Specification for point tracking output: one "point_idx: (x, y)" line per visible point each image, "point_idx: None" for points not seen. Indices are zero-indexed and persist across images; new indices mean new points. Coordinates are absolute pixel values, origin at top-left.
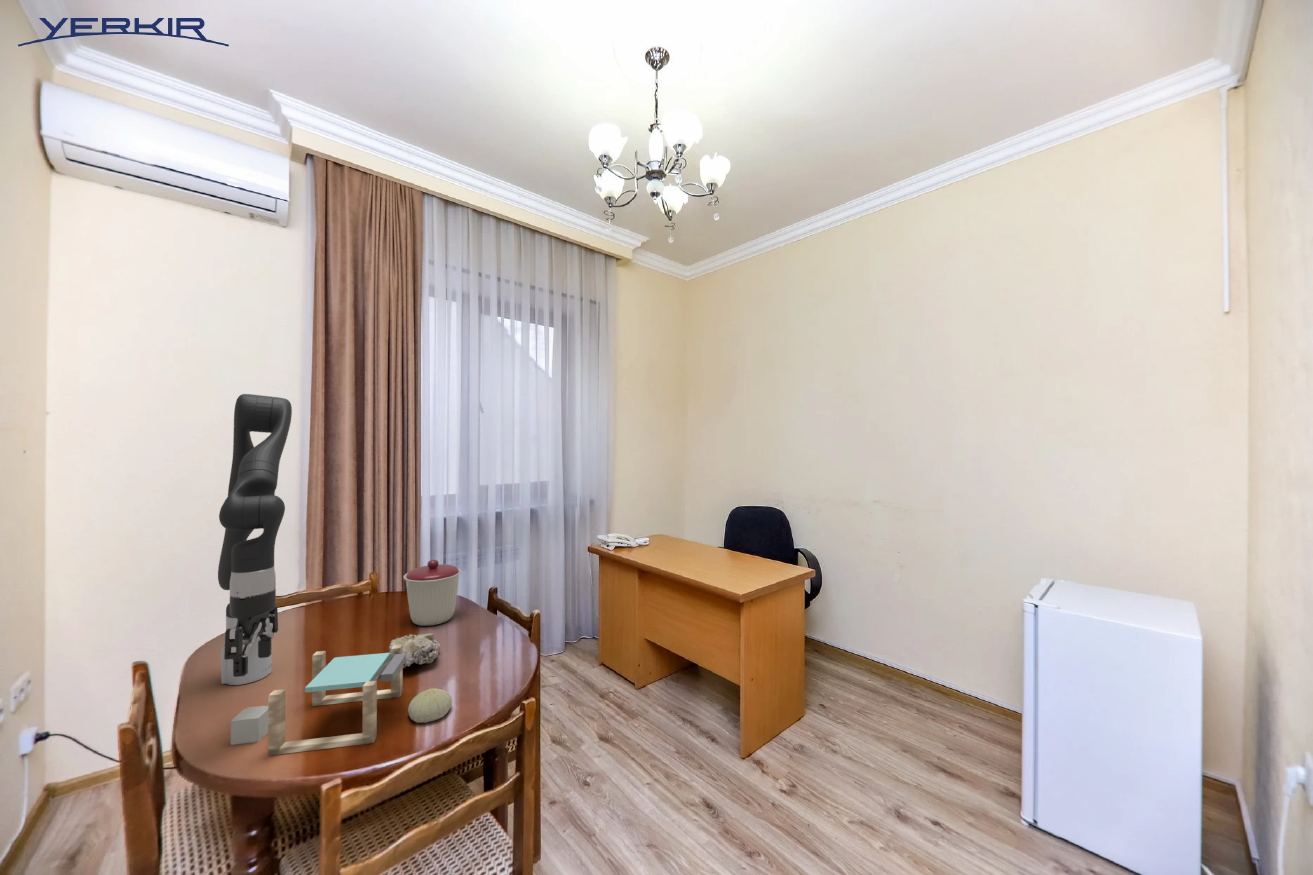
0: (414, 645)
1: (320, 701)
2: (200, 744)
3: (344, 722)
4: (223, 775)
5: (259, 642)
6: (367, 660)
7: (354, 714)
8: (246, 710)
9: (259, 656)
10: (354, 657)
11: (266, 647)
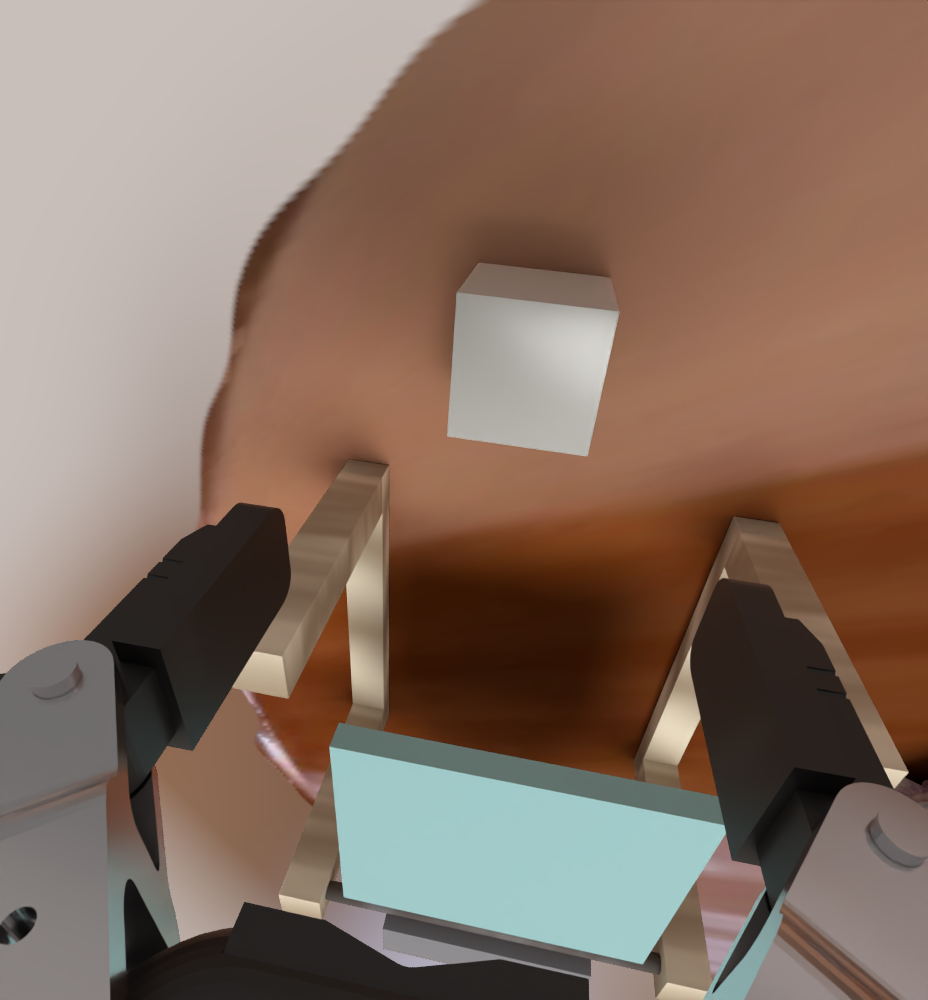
0: None
1: (725, 557)
2: (538, 64)
3: (513, 638)
4: (243, 346)
5: (780, 755)
6: (583, 910)
7: (562, 659)
8: (572, 332)
9: (725, 588)
10: (662, 882)
11: (724, 734)
